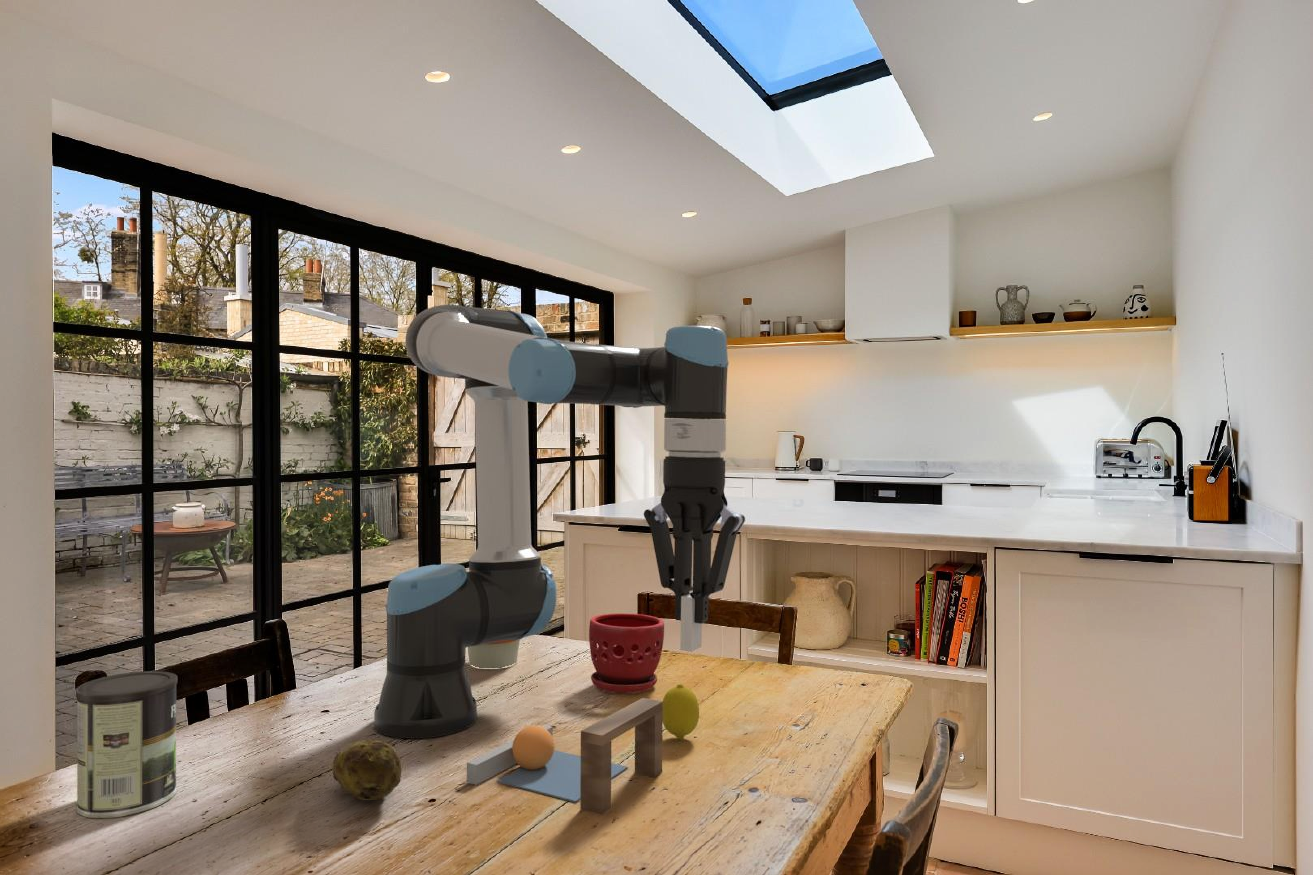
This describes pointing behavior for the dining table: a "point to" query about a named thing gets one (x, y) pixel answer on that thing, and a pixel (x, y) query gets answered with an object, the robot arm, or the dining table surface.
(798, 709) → the dining table surface
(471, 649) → the reusable coffee cup
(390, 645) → the robot arm
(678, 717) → the lemon
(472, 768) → the stopper
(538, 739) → the ball
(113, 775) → the coffee can
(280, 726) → the dining table surface
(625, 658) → the plant pot
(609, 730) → the bridge
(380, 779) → the potato
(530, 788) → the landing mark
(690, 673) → the dining table surface
